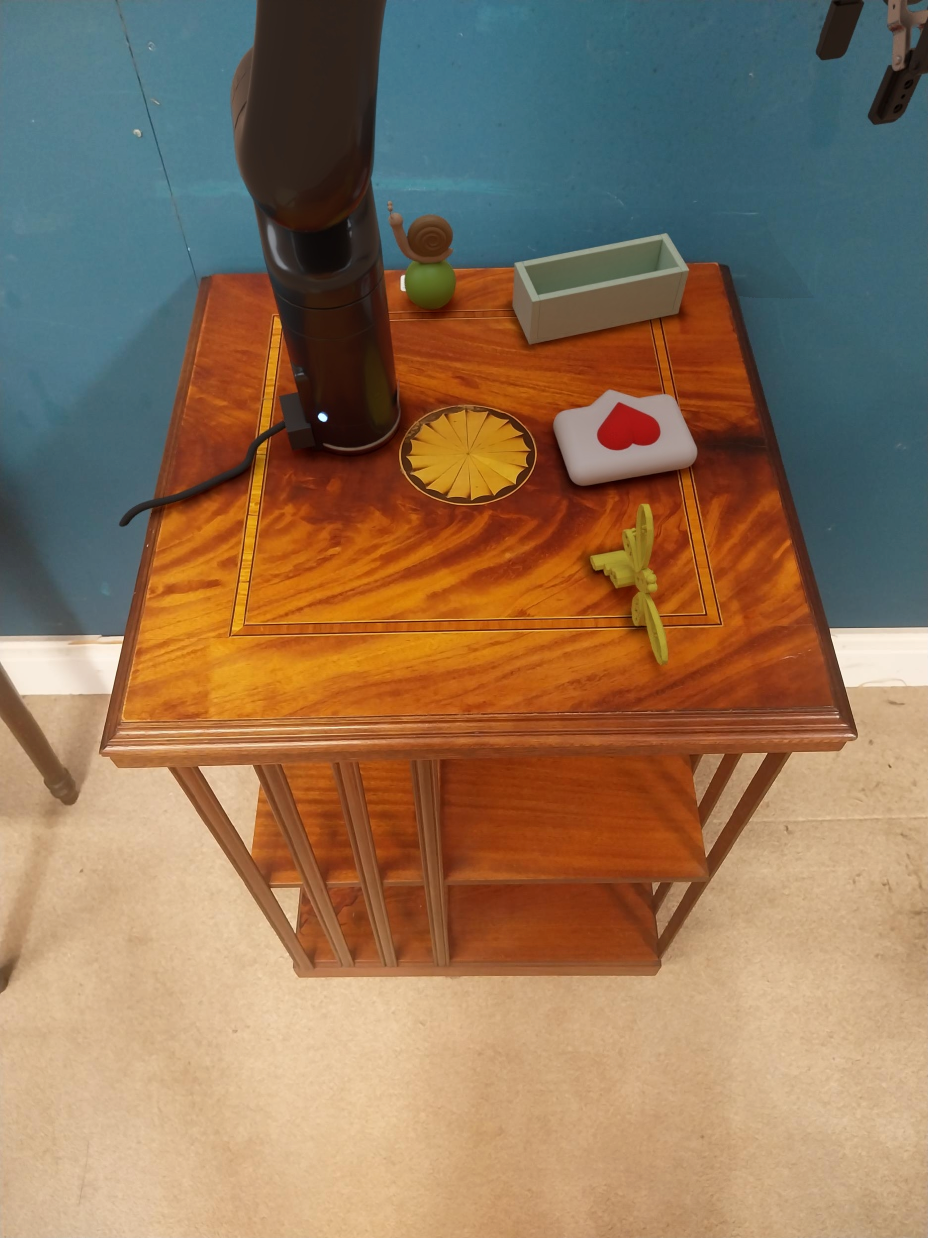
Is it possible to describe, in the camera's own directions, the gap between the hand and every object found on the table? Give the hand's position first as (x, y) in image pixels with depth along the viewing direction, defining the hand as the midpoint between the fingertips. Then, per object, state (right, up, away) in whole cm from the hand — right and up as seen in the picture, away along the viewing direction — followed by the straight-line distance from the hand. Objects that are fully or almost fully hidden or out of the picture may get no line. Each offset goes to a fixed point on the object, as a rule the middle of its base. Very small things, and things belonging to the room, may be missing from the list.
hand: (854, 87), depth 62 cm
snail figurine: (-33, -5, +29) cm, 44 cm away
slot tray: (-15, -6, +28) cm, 32 cm away
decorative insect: (-15, -39, +10) cm, 43 cm away
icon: (-14, -22, +19) cm, 32 cm away
